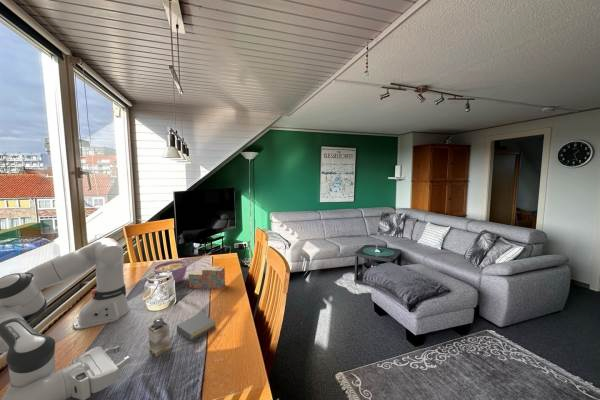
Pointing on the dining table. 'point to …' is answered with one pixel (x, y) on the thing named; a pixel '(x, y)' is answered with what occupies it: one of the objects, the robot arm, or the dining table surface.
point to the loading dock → (195, 326)
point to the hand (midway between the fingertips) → (125, 353)
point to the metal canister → (158, 323)
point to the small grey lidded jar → (159, 339)
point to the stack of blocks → (208, 278)
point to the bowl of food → (172, 269)
